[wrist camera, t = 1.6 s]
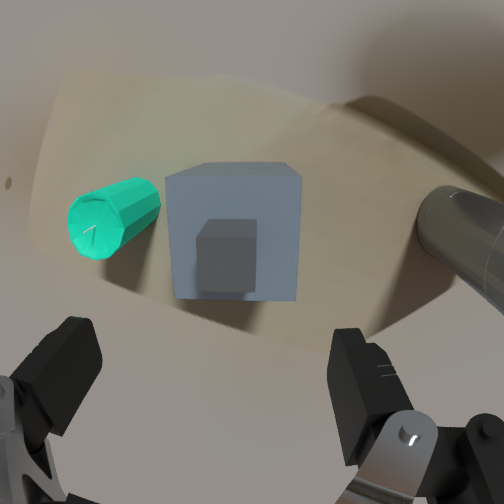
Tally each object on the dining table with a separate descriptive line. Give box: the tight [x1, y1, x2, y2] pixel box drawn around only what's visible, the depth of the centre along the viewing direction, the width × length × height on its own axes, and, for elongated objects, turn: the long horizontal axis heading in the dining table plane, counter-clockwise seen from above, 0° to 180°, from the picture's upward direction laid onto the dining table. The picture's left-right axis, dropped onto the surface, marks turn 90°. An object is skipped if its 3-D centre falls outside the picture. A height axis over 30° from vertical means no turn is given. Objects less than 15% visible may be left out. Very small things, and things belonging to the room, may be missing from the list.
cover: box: [165, 162, 302, 301], centre depth 25 cm, size 8×8×18 cm
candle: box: [67, 177, 161, 260], centre depth 28 cm, size 6×6×12 cm
